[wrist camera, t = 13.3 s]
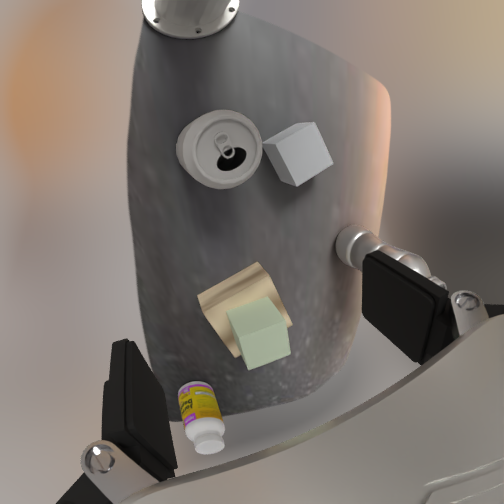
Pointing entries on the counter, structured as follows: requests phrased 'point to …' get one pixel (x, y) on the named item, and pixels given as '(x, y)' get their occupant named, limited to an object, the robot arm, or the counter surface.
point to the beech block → (238, 300)
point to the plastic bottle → (364, 241)
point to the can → (220, 149)
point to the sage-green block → (259, 332)
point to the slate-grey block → (298, 153)
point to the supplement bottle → (201, 417)
